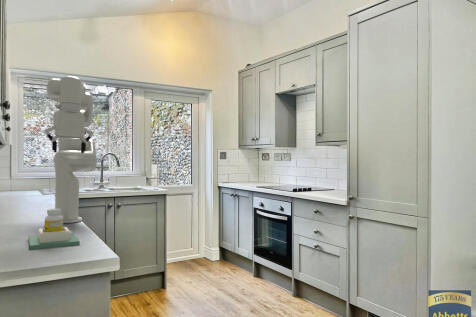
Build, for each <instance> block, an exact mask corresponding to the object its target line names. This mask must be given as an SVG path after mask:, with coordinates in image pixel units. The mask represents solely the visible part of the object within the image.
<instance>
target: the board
mask: <svg viewBox="0 0 476 317" xmlns="http://www.w3.org/2000/svg"><path fill="white" fill-rule="evenodd" d="M28 246H29V250H38V249H40V250H41V249H49V248H58V247H72V246H80V240H79V238H78V237H77V235H76V233H74V231H71V230H69V228H68V227H67V226H63V231H57V232H45V227H44V228H38V234H34V235H28Z"/></svg>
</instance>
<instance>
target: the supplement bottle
mask: <svg viewBox="0 0 476 317" xmlns="http://www.w3.org/2000/svg"><path fill="white" fill-rule="evenodd" d="M60 214H61V209H55V208H49V209H47V210H46V215H47V216H45V217H44V228H45V232H57V231H63V227H64V223H63V217H62V216H61V215H60Z"/></svg>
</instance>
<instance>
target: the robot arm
mask: <svg viewBox="0 0 476 317" xmlns="http://www.w3.org/2000/svg"><path fill="white" fill-rule="evenodd" d="M46 93H47V97H48V98H49V100H52V101H54V102H57V103H59V104H55V107H54V108H55V109H57V110H56V111H54V113H53V115H52V123H53V126H50V127H48V128H46V129H44V133H45V135H46V138H48V139H49V140H50V141H51V143H52V144H51V146H52V147H51V149H52V151H53V152H54V153H55V154H54V156H53V164H54V172H55V193H54V209H61V214H60V215H61V216H62V217H63V224H72V223H73V224H74V223H78V222H81V221H83V218H82V217H81V216H79V207H80V206H79V205H80V204H79V202H80V180H79V178H78V177H77V176H76V175H75V174H74V173H77V172H79V173H80V172H82V173H87V172H88V173H89V172H90V173H91V172H94V170H96V168H97V164H98V159H97V158H98V157H97V150H96V142H95V141H94V139H92V137H93V135H94V132H93V131H91V130H90V129H88V127H90V126H91V125H92V123H93V110H94V99H93V98H94V97H93V96H92V94H91V93H89V92H87V91H86V86H85V85H84V83H83V82H82V80H81V79H80V78H79V77H77V76H71V75H67V76H66V75H65V76H62V77H61V78H50V79H49V80H48V81H47V84H46ZM52 131H54V134H55V135H54V137H53V136H52V135H51V133H50V132H52ZM85 133H87V134H88V136H87V137H84V136H85ZM57 140H58V141H57Z"/></svg>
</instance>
